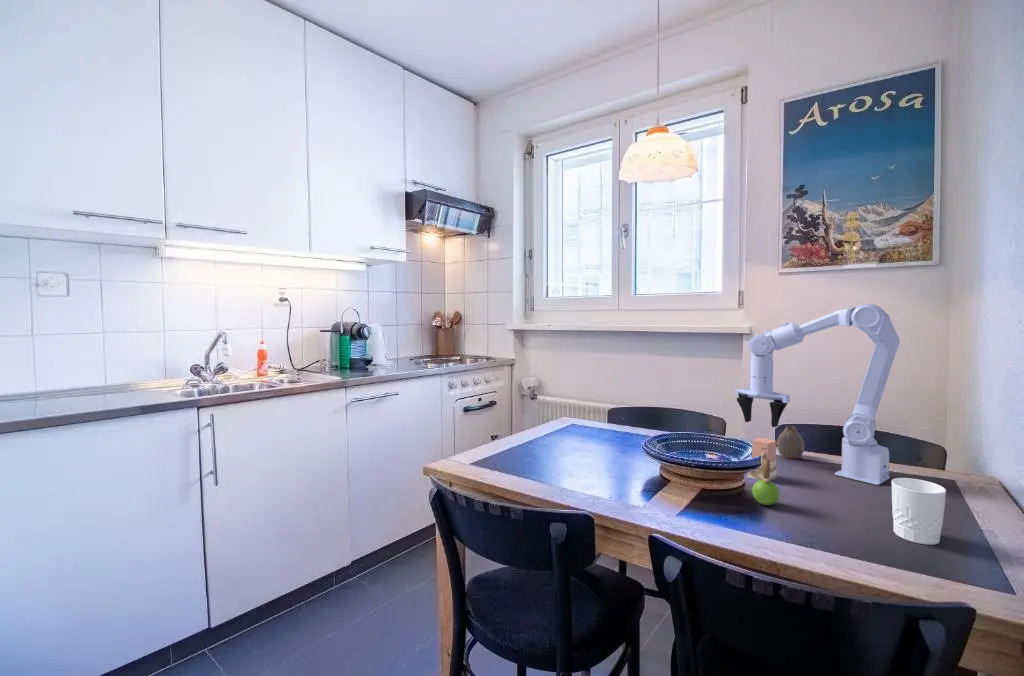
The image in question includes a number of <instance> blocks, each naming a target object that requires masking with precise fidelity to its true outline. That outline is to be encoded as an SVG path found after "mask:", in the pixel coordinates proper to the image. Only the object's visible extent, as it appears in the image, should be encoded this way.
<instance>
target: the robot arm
mask: <svg viewBox="0 0 1024 676" xmlns="http://www.w3.org/2000/svg"><path fill="white" fill-rule="evenodd" d="M781 324H782V326H780V327H777V328H774V329H772V330H769V329H768V330H765V331H764V333H763V334H756V335H755V336H753V337H752V338H750V340H749V343H748V349H749V351H750V380H749V381H750V385H749V386H750V389H749V388H735V390H734V396H735V397H737V398H736V401H737V403H738V405H739V406H740V409H741V412H742V414H743V419H744V422H745V423H749V422H751V421H752V406H753V402H754V399H759V400H760V399H761V400H767V401H771V402H769V407H770V412H771V415H770V416H771V417H770V418H771V419H770V420H771V421H770V424H771V427H772V428H776V427H778V426H779V423H780V422H779V421H780V418H781V416H782V414H783V412H784V410H785V408H786V407H787V405H788V403H790V401H791V400H790V399H791V396H790V394H786V393H785V394H784V393H779V392H776V391H775V392H774V360H773V359H774V358H773V357H774V351H780V350H783V349H786V348H790V347H793V346H795V345H798V344H800V343H802V342H803V341H804V338H805V337H806V336H808V335H811V334H815V333H817V332H821V331H823V330H826V329H830V328H833V327H836V326H840V327H851V326H852V327H853V325H854V327H856V328H857V329H859V331H862V332H863V333H865V334H866V335H867V337H868V338H869V339H870V340H871V341H872V342H873V344H874V347H873V350H872V352H871V353H872V354H871V356H870V357H871V358H870V360H869V363H868V367H867V368H866V373H865V375H864V378H863V381H862V384H861V388H860V391H859V394H858V398H857V400H856V403H855V406H854V409H853V412H852V413H851V414H850V415H849V416H848V417H847V420H846V422H845V424H844V425H843V427H842V433H843V437H842V438H841V439H842V440H841V469H839V470H837V471H836V472H834V475H835V476H839V477H842V478H846V479H851V480H854V481H860V482H864V483H867V484H872V485H875V486H879V485H881V484H882V483H884V482H886V481H888V480H889V479H890V478H891V477H890V476H889V473H890V450H889V448H888V447H885V446H882V445H880V444H878V441H877V440H876V439H875V438H874V437H875V431H876V429H877V425H876V424H877V423H876V421H875V417H876V415H877V412H878V408H879V406H880V403H881V400H882V396H883V393H884V390H885V387H886V385H887V382H888V378H889V376H890V372H891V369H892V367H893V364H894V361H895V357H896V354H897V352H898V348H899V346H900V340H901V339H900V336H899V335H898V333H897V331H896V329H895V326H894V324H893V322H892V320H891V318H890V315H889V314H888V313H887V312H886V311H885V310H884V309H883V308H882V307H880V306H879V305H876V304H873V303H866V304H861V305H858V306H857V307H856V306H855V307H848V308H845V309H840V310H836V311H833V312H830V313H828V314H826V315H823V316H820V317H818V318H815V319H813V320H810V321H808V322H805V323H803V324H797V323H794V322H791V323H789V322H785V323H781Z"/></svg>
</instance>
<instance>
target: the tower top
mask: <svg viewBox="0 0 1024 676" xmlns="http://www.w3.org/2000/svg"><path fill="white" fill-rule="evenodd" d="M776 469H777V459H776V460H775V461H772V462H770V473H771V472H772V471H774V470H776ZM754 471H758V472H762V471H761V466H760V467H759V468H758V469H756V470H754Z"/></svg>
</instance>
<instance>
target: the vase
mask: <svg viewBox="0 0 1024 676" xmlns="http://www.w3.org/2000/svg"><path fill="white" fill-rule="evenodd" d="M776 449H777V452H778V453H779V454H780V455H781V456H782V457H783V458H785V459H790V460H797V459H800V458H801V457H802V455H803V454H804V451H805V441H804V439H803V436H802V435H801V434H800V433H799V432H798V430H797V427H795V426H789V425H788V426H785V428H784V430H783V431H782V432H781V433H780V434H779V435H778V437H777V440H776Z"/></svg>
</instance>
